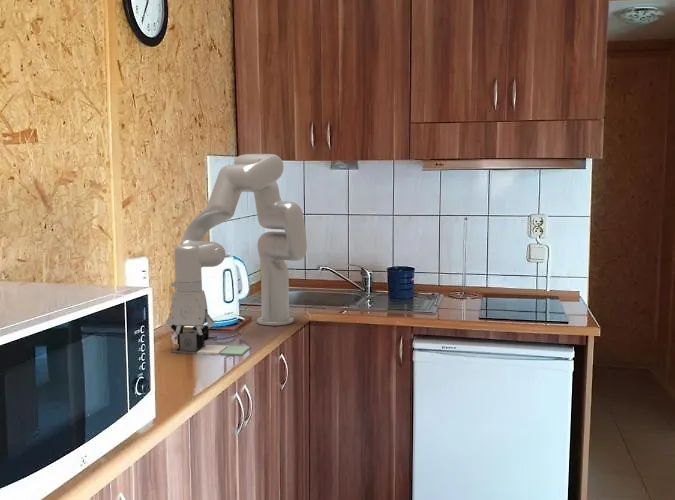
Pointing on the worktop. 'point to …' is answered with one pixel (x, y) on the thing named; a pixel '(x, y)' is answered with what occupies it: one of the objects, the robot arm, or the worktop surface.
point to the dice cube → (188, 340)
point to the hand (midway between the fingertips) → (191, 346)
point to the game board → (218, 350)
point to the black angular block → (205, 334)
